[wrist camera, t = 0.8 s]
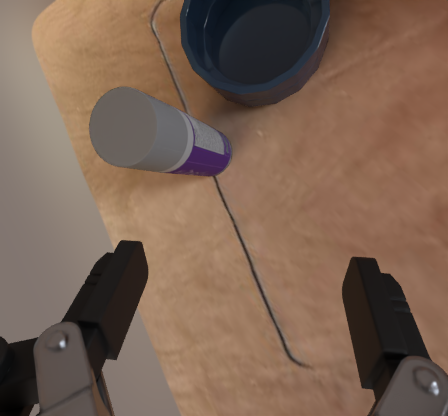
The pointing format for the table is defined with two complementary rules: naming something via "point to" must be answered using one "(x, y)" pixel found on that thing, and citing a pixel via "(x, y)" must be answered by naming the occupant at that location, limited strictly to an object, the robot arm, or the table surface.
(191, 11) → the bowl
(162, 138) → the container
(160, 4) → the table surface
